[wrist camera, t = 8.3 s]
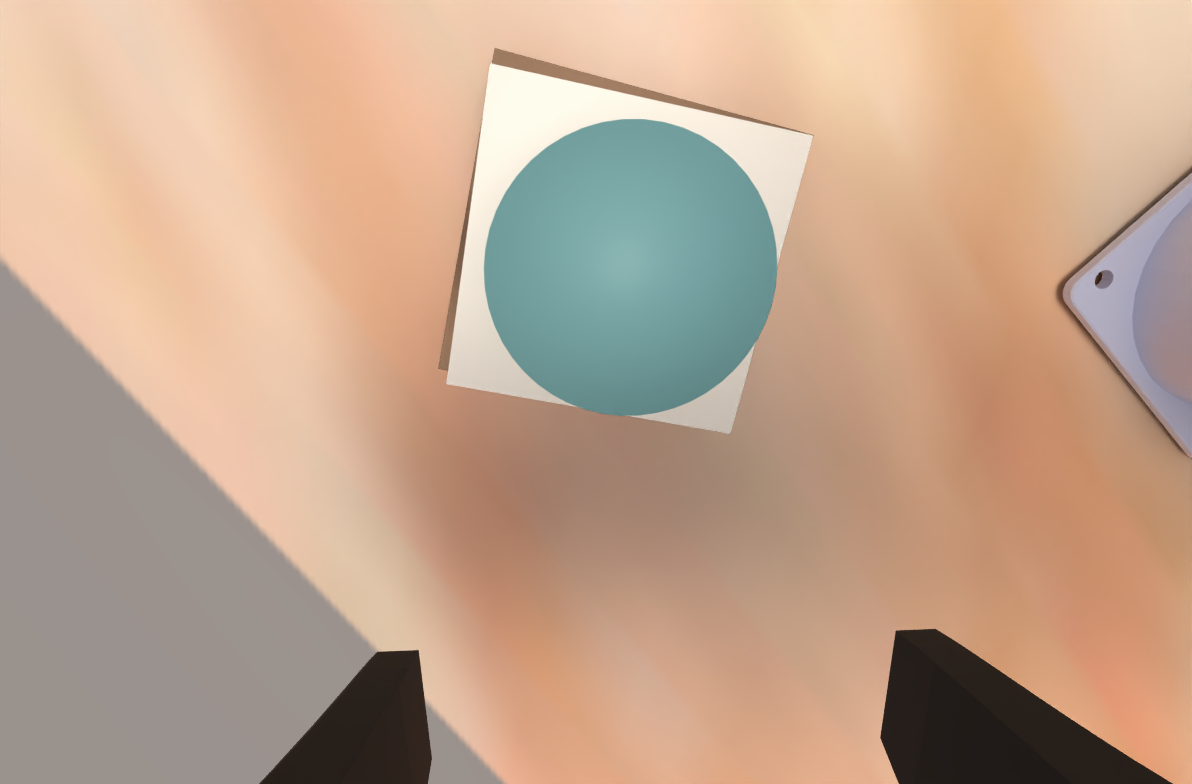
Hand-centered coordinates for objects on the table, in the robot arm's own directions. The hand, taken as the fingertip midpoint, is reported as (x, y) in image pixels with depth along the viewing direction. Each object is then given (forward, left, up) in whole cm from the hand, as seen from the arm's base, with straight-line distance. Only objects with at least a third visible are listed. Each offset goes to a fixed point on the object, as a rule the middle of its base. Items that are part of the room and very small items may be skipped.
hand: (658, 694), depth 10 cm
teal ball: (-4, -4, -7) cm, 9 cm away
